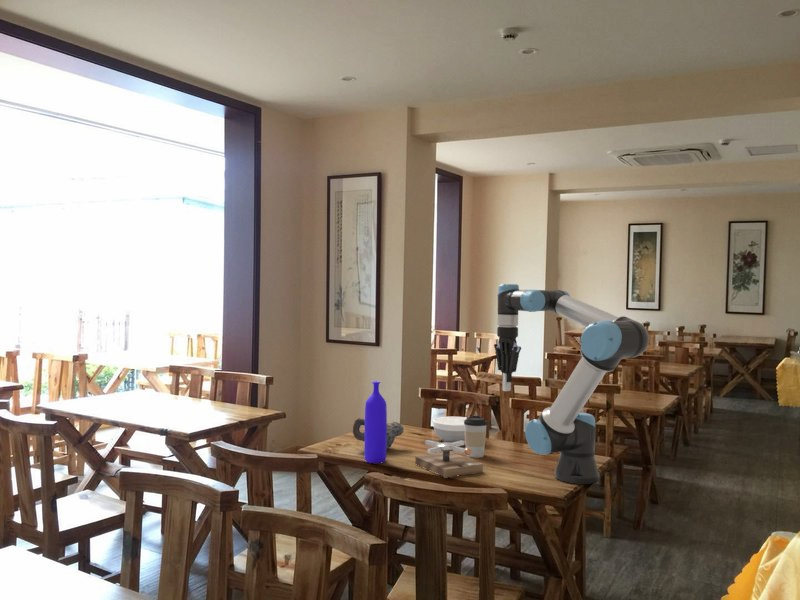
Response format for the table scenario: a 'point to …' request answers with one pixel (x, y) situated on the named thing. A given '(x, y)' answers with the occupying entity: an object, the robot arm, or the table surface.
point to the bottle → (375, 427)
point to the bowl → (450, 428)
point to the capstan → (447, 447)
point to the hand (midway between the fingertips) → (506, 390)
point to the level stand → (449, 464)
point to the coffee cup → (475, 435)
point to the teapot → (392, 431)
